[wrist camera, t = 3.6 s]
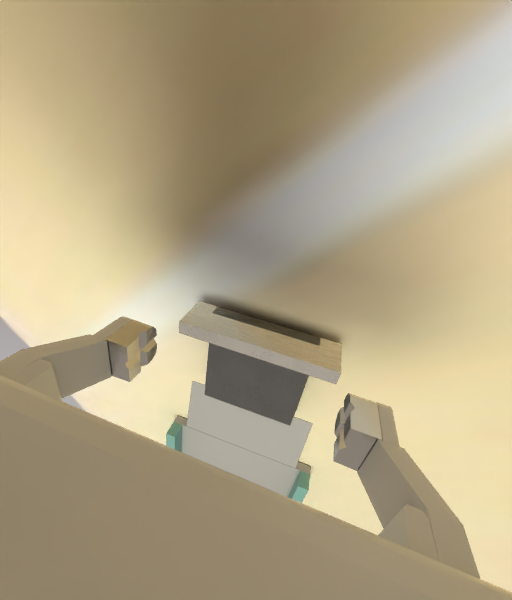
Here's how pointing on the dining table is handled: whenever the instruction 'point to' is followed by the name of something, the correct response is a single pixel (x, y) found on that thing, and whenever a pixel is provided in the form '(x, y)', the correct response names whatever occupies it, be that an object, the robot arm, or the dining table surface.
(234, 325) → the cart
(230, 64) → the dining table surface
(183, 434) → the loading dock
